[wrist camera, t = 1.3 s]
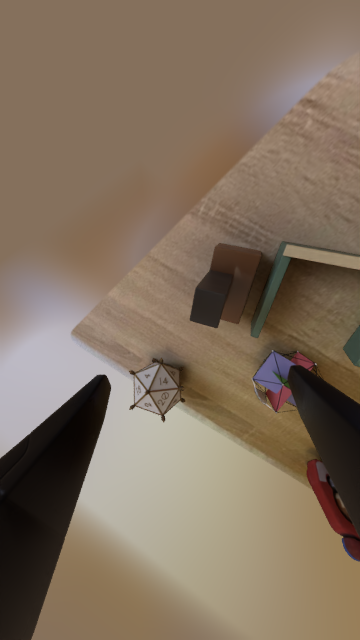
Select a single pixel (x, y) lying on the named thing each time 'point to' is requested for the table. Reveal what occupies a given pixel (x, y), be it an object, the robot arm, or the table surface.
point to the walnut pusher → (225, 285)
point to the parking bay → (355, 348)
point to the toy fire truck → (333, 507)
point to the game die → (157, 388)
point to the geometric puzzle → (278, 378)
